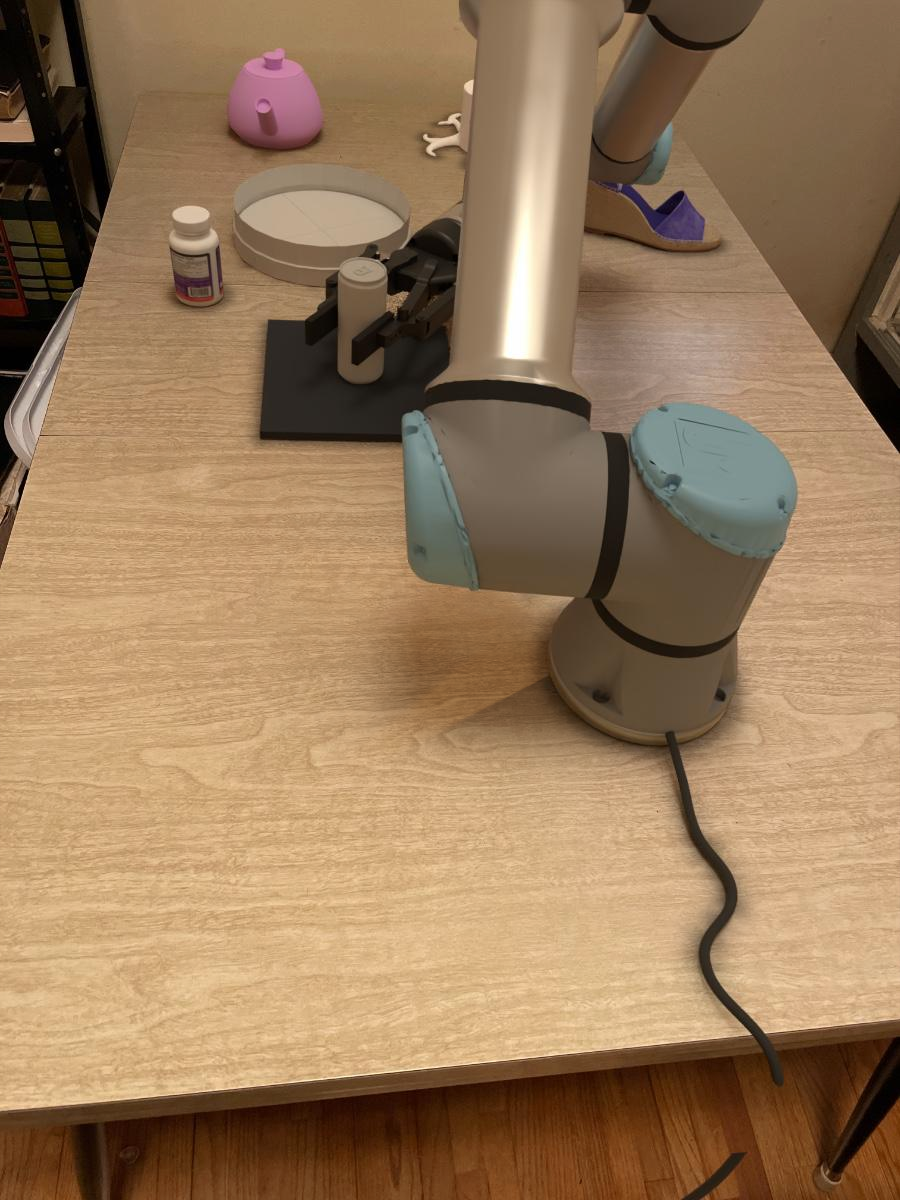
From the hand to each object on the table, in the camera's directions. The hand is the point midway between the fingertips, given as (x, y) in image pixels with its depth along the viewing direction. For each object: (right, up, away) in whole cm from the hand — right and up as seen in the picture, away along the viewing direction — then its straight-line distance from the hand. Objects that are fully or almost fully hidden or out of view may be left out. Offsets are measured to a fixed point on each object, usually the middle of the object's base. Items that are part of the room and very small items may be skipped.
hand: (331, 342), depth 94 cm
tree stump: (+17, +44, +53) cm, 71 cm away
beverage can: (+2, -1, +8) cm, 9 cm away
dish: (-5, +20, +28) cm, 35 cm away
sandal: (+39, +25, +38) cm, 59 cm away
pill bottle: (-17, +10, +17) cm, 26 cm away
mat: (+2, -2, +9) cm, 9 cm away
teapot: (-14, +43, +48) cm, 66 cm away
